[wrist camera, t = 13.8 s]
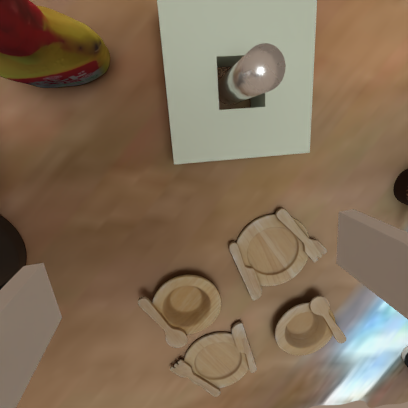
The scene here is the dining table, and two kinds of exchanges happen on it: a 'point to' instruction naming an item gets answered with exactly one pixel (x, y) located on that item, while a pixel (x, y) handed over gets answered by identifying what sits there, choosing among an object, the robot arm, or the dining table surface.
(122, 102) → the dining table surface
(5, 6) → the bottle
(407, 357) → the dixie cup
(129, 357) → the dining table surface
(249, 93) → the long pin
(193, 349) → the tableware set
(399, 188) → the coffee mug
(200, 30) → the pin block
